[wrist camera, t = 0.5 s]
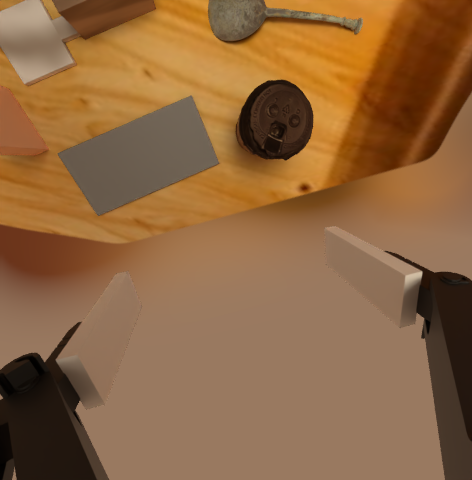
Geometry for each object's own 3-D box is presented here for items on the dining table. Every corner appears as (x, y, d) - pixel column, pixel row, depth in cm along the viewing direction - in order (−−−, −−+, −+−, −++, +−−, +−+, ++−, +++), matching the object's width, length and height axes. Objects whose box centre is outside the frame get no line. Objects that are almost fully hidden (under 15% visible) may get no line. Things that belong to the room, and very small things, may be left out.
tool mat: (59, 153, 34) (57, 153, 33) (191, 96, 34) (191, 95, 33) (99, 215, 37) (98, 215, 37) (218, 163, 37) (219, 163, 37)
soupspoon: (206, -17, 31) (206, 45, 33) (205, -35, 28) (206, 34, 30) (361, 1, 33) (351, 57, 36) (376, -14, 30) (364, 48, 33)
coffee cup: (243, 171, 38) (263, 177, 26) (217, 122, 35) (225, 104, 23) (289, 143, 38) (331, 136, 26) (266, 91, 35) (301, 55, 23)
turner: (-12, 22, 28) (-64, -11, 23) (135, -42, 28) (119, -91, 23) (28, 85, 31) (-11, 69, 25) (163, 27, 31) (155, -3, 25)
